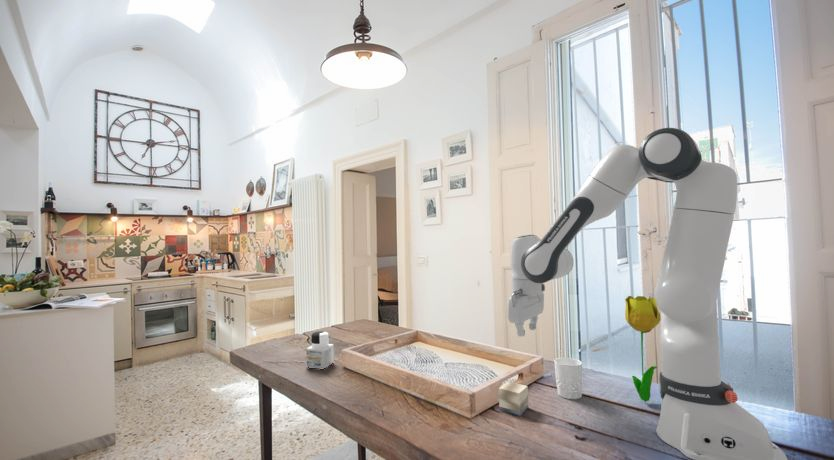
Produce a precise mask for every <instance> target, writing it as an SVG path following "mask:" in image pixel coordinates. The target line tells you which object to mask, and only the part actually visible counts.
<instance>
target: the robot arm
mask: <svg viewBox="0 0 834 460" xmlns="http://www.w3.org/2000/svg"><path fill="white" fill-rule="evenodd" d="M644 179H649V180H655V181H660V182H664V183H673V184H674V185H675V187H676V197H675V203H674V206H673V211H672V216H671V220H670V226H669V230H668V236H667V241H666V245H665V247H664V248H665V249H664V252H663V256H662V258H661V259H662V260H661V264H660V268H659V271H658V272H659V273H658V276H657V280H656V285H655V289H654V299H655V301H656V304H657V308H658V310H660V319H661V320H660V331H659V332H660V335H659V346H660V347H659V348H660V349H659V350H660V352H659V353H660V363H661V364H660V367H661V371H660V372H659V377H658V384H659V385H658V386H659V387H658V388H659V394H660V398H661V406H660V414H659V419H658V423H657V427H656V429H655V430H656V431H655V432H656V434H657V436H658V437H659V438H660V439H661V440H662V441H663V442H665V443H666V444H668V445H669V446H671V447H672V448H675V449H676V450H678V451H680V453H682V454H683V455H684V456H686V457H687V458H689V459H691V460H788V458H787V456H786V454H785V452H784V450H783V449H781V448H780V447H779V446H778V445H776V444H775V443H773V441H772V439H771V435H770V433H769V431H768V430H767V428H766V426H765V425H764V423H763V422H762V421H761V420H760V419H759V418H757V417H756V416H754V415H753V414H752V413H750V412H749V411H748V410H746V409H745V408H744V407H742V406H741V405H739V404H738V403H737V402H738V398H739V397H738V395H737V393H736V392H735V391H734V388H733V387H731V384H730V383H729V382H728V383H725V382H724V381H722V378H721V376H722V375H721V361H720V360H721V359H720V343H719V340H720V339H719V324H718V323H719V322H718V305H717V304H718V302H717V300H718V296H719V291H720V288H721V287H720V285H721V282H722V280H721V279H722V275H723V270H724V266H725V260H726V255H727V250H728V245H729V241H730V237H731V231H732V227H733V222H734V219H735V212H736V208H737V201H738V199H737V198H738V175H737V173H736V171H735V170H734V169H733V168H732V167H731V166H729V165H726V164H724V163H719V162H712V161H711V162H709V161H705V160H703V158H702V153H701V151H700V148H699V146H698V143H697V142H696V141H695V140H694V139H693V137H692V136H691V135H690V134H689V133H688V132H686V131H685V130H682V129H681V128H680V129H679V128H676V127H675V128H674V127H663V128H660V129H657V130H654V131H652V132H651V133H649V134H648V135H647V136H645V138H644V139H643V140H642V141H641V142H640V146H639V147H635V146H633V145H631V144H617V145H615V146H613V147H612V148H611V149H610V150H609V151H607V152H606V153H605V154H604V155H603V157H602V158H601V159H600V160H599V161H598V163H597V164H596V165H595V166H594V168H593V169H592V170H591V171H590V173H589V174H588V176H587V177H586V179H585V181H584V182H583V183H582V185H581V186H580V188H579V189H578V191H577V192H576V194H575V195H574V197H573V198H572V199H571V201H570V202H569V204H568V205H567V206H566V207H565V208H564V210H563V211H562V212H561V214H560V215H559V216H558V218H557V219H556V220H555V221H554V223H552V225H551V227H550V228H549V229H548V230H547V232H546V233H545V234H544V235H543V236H542V238H540V237H538V236H537V235H535V234H527V235H521V236H517V237H515V238H514V239H513V240H512V241H511V245H510V256H509V257H510V267H511V275H510V291H511V294H512V295H511V296H510V297H509V298H508V306H507V310H508V311H507V318H508V321H509V323H510V324H511V323H512V324H515V329H516V330H517V332H516V333H517V336H518V337H521V338H522V337H524V336H525V335H526V330H525V329H524V324H525V322H526V321H528V320H529V323H528V329H529V330H530V331H535V330H536V329H537V323H538V322H537V321H538V315H541V314H542V313H543V311H544V306H545V303H544V301H545V294H544V293H545V291H546V285H545V283H547V282H549V281H552V280H555V279H560V278H563V277H565V276H567V275H568V274H569V273H571V271H572V270H573V267H574V257H573V255H572V253H571V252H570V250H569V249H568V246H569V245H570V244H571V243H572V241H573V240H575V238H576V236H577V235H578V234H579V233H580V232H581V231H582V230H583V229H584V228H586V227H587V226H588V225H590V224H593V223H594V222H597V221H599V220H602V219H604V218H605V219H606V218H607V217H609V216H611V215H612V214H613V213H614V212H615V211H616V210H617V209H619V208H620V206H621V205H622V204H623V203H624V202H625V200H626V199H627V198H628V196H629V195H630V194H631V192H632V191H633V190H634V188H635V187H636V186H637V184H638V183H640V182H641V181H642V180H644Z"/></svg>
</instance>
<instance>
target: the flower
mask: <svg viewBox="0 0 834 460" xmlns="http://www.w3.org/2000/svg"><path fill="white" fill-rule="evenodd" d="M624 300H625V301H624V302H625V309H624V310H625V311H624V313H625V315H624V316H625V320H626V323H627V324H628V325H629V326H630V327H631V328H633V329H634V330H635V331H636V332H640V343H641V344H640V348H641V353H640V354H641V376H642V377H641V379H640V378H638V377H637V376H635V375H632V376H631V378H632V380H633V384H634V387H635V389H636V392H637V393H638V395H639V396H638V397H640V400H642V401H644V402H646V403H647V402H649V401H650V399H651V389H652V384H653V383H652V381H653V376H654V371H655V370H656V369H658V366H656V365H654V366H650V367H649V368H648V369H647V370H645V372H644V351H643V349H644V346H643V344H644V334H646V333H650V332H651V331H652V330H653V329H654V328H655V327H657V326H658V325H659V324H660V323H661V312H660V311H659V308H658V305H657V303H656V301H655V297H649V298H647V297H645V296H644V295H643V296H641V295H637V296H636V297H634V296H633V295H628V296H627V297H626V298H625V299H624Z"/></svg>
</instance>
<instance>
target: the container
mask: <svg viewBox="0 0 834 460" xmlns="http://www.w3.org/2000/svg"><path fill="white" fill-rule="evenodd" d="M329 336H330V335H329V332H327V331H324V330H323V331H316V332H313V333H311V345H310V346H308V347H307V348H305V349H306V350H305V351H306V358H305V359H306V368H307V367H309V368H325V367H327V366H328V365H330V364H331V363H332V362H334V363H335V349H334V343H330V339H329V338H330V337H329ZM309 368H308V369H309ZM327 368H328V367H327Z"/></svg>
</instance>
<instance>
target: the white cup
mask: <svg viewBox="0 0 834 460" xmlns="http://www.w3.org/2000/svg"><path fill="white" fill-rule="evenodd" d="M553 363H554V372H555V373H554V374H555V383H556V389H557V395H558V396H560V397H561V398H563V399H565V400H579V399H580V398H582V396H583V394H582V392H583V391H582V388H583V362H582V361H581V360H579V359H577V358H573V357H557V358H554V360H553Z"/></svg>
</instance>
